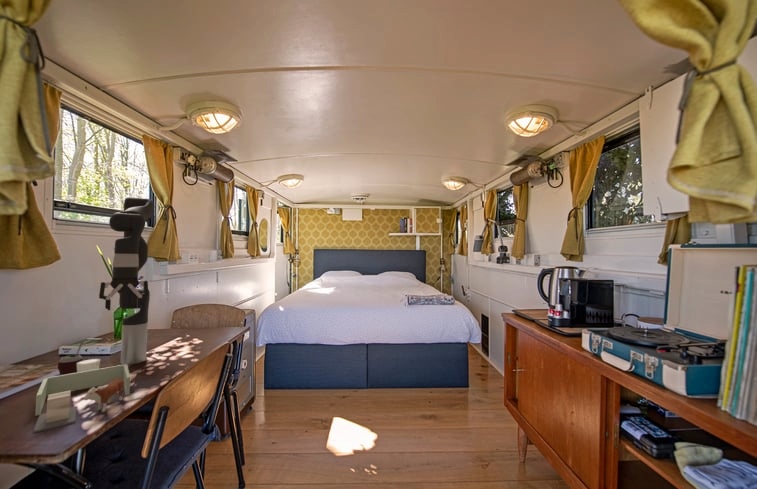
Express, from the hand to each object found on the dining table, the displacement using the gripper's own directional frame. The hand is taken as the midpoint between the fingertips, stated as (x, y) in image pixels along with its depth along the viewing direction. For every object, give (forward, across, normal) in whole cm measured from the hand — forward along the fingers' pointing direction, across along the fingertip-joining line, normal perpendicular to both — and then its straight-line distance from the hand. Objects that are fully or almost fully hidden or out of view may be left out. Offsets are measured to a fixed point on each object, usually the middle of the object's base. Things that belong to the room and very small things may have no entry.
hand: (123, 308), depth 117 cm
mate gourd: (+28, +14, -24) cm, 40 cm away
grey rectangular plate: (+28, +15, +20) cm, 38 cm away
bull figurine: (+28, +4, +20) cm, 35 cm away
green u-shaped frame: (+28, +9, +4) cm, 30 cm away
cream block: (+28, +15, +20) cm, 37 cm away
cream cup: (+28, +9, -15) cm, 33 cm away
